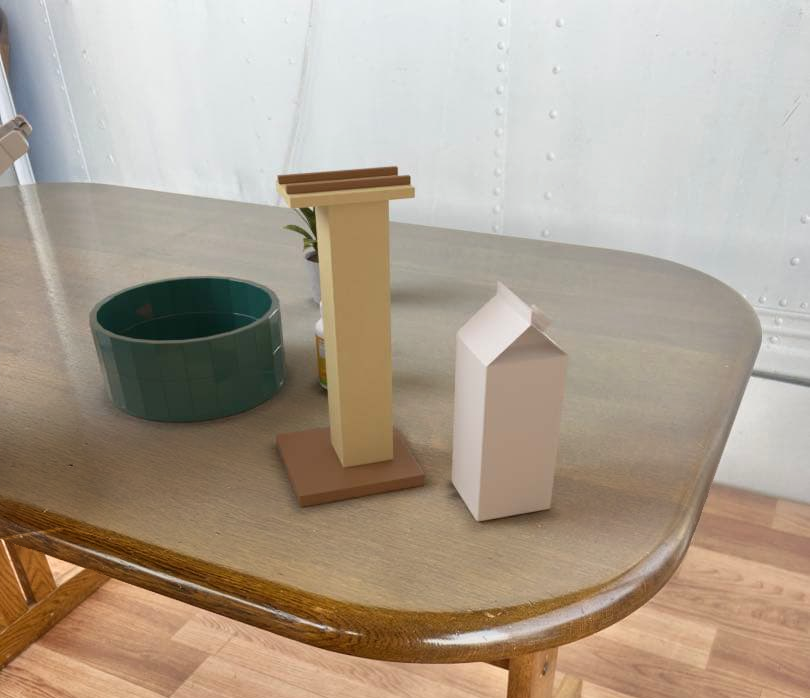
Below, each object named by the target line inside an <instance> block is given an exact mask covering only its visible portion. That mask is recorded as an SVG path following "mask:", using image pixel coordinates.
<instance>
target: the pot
mask: <svg viewBox="0 0 810 698" xmlns="http://www.w3.org/2000/svg"><path fill="white" fill-rule="evenodd" d="M280 304H281V303H280V300H279V297H278V296H277V294H276V292H275V291H274V290H272V289H271V288H269V287H268V286H266V285H264V284H262V283H259V282H256V281H253V280H249V279H243V278H238V277H232V276H219V275H194V276H193V275H189V276H179V277H169V278H162V279H157V280H153V281H147V282H143V283H139V284H136V285H132V286H129V287H126V288H125V287H124V288H122V289H121V290H119V291H116V292H114V293H112V294H109V295H108V296H106V297H104V298H103V299H101V300H100V301H98V302H96V304H95V305H94V306H93V308H92V309H91V310H90V312H89V313H88V324H89V328H90V332H91V335H92V339H93V343H94V348H95V351H96V356H97V358H98V363H99V368H100V371H101V376H102V380H103V384H104V387H105V391H106V394H107V397H108V399H109V401H110V403H111V404H112V405H113V406H114V407H115V408H116V409H118V410H120V411H121V412H123V413H125V414H127V415H129V416H132V417H135V418H139V419H144V420H147V421H155V422H163V423H190V422H191V423H192V422H194V423H195V422H204V421H210V420H216V419H221V418H225V417H230V416H234V415H237V414H239V413H243V412H245V411H249V410H250V409H253V408H256V407H257V406H259V405H261V404H264V403H265V402H267V401H269V400H270V399H271V398H273V397H274V396H275V395H277V393H278V392H280V390H281V389H282V388H283V386H284V384H285V382H286V379H287V364H286V355H285V344H284V335H283V334H284V333H283V324H282V323H283V322H282V314H281V305H280Z"/></svg>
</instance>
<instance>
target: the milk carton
mask: <svg viewBox="0 0 810 698" xmlns="http://www.w3.org/2000/svg"><path fill="white" fill-rule="evenodd" d="M553 322H554V321H553V320H552V318H551V317H549V315H547V314H545V312H543V311H542V310H541V309H540V308H538V306H536V305H535V304H531V306H529V305H528V304H527V303H525V302H524V301H523V300H522V299H521V298H520V297H519V296H517V295H516V294H515V293H514V292H513V291H512V290H510V288H509V287H507V286H506V285H505V284H504V283H503V282H501V281H497V282H496V293H495V295H494V296H492V298H491V299H489V300H488V301H487V302H486V303H485V304H484V306H482V307H481V308H480V309H479V310H478V311H477V312H476V313H475V314H474V315H473V316H472V317H471V318H470V319H469V320H467V322H466V323H464V325H462V327H460V328H459V330H457V332H456V341H455V342H456V343H455V344H456V345H455V370H454V372H455V373H454V374H455V375H454V399H453V400H454V403H453V428H452V429H453V431H452V456H451V457H452V458H451V459H452V460H451V463H452V464H451V484H452V485H453V487H454V488H455V489H456V491H457V493H458V494H459V496H460V497H461V499H462V501H463V502H464V503H465V505H466V507H467V508H468V511H469V512H470V513H471V515H472V517H473V518H474V519H475V521H476V522H482V521H489V520H494V519H500V518H501V519H502V518H507V517H511V516H518V515H523V514H528V513H533V512H539V511H545V510H550V509H551V504H552V495H553V489H554V479H555V471H556V464H557V456H558V447H559V440H560V439H559V438H560V429H561V423H562V415H563V407H564V406H563V405H564V400H565V399H564V398H565V392H566V391H565V389H566V382H567V374H568V364H569V354H568V353H567V352H566V351H565V350H564V349H563V348H561V347H560V346H559V345H558V344H557V343H556V342H555V341H554V340H553V339H551V338H550V337H549V336H548V335H547V334H546V333H545V332H546V331H547V330H548V328H549V327H550V326H551V325H552V323H553Z"/></svg>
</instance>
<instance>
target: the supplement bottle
mask: <svg viewBox="0 0 810 698" xmlns="http://www.w3.org/2000/svg"><path fill="white" fill-rule="evenodd" d="M319 313H320V314H319V315H320V317H321V318H319V320H317V321H316V323H315V326H314V333H315V345H316V347H315V348H316V360H317V371H318V372H317V374H318V380H319V381H318V382H319V385H320V386H321V387H322V388H323V389H325V391H328V388H327V373H326V359H325V344H324V330H323V315H322V301H321V302H320V305H319Z"/></svg>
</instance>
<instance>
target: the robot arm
mask: <svg viewBox="0 0 810 698" xmlns="http://www.w3.org/2000/svg"><path fill="white" fill-rule="evenodd" d="M32 132H33V127H32V125H31V124H30V123H29V121H28V120H27V119H26V118H25V116H24V115H22V114H16V115H14V116H13V117H12V118H10V119H9V120H8V121H6V122H5V123H3V124H1V125H0V177H1V176H2V175H3V174H4V173H5V172H6V171H7V170H8V169H9V168H10V167H11V166H12V165H13V164H14V163H15V162H16V161H18V160H19V159H20V158H22V157H23V156H25V154H27V153H28V152H29V149H30V145H29V141H28V140H27V138H28V137H29V136H31V135H32Z"/></svg>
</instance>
